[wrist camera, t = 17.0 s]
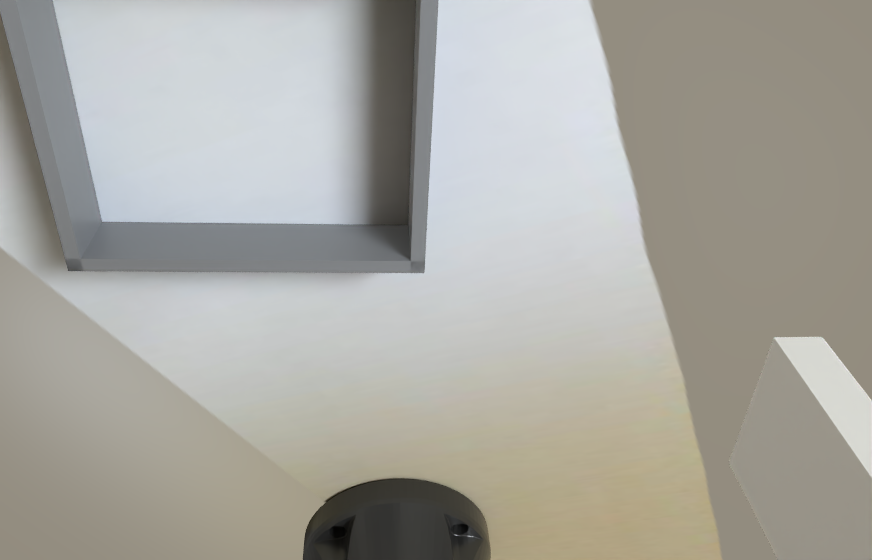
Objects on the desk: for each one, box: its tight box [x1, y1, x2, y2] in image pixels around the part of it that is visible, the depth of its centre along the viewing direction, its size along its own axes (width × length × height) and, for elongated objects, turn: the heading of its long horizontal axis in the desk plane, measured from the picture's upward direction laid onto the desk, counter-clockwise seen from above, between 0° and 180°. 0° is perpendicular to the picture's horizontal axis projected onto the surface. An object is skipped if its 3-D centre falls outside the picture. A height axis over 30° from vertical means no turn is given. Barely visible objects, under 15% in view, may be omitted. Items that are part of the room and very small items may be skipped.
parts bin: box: [0, 0, 438, 273], centre depth 39 cm, size 18×20×4 cm
